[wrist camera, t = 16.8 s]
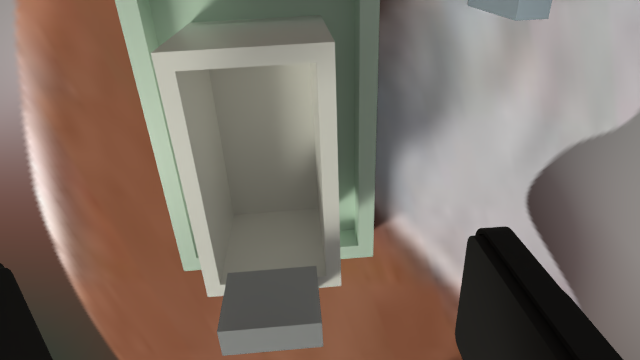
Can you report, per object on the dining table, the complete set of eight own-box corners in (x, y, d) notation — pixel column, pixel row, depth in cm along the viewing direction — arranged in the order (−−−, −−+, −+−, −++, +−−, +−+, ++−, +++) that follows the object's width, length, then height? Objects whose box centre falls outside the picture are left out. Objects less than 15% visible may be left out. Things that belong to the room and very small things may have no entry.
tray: (366, 234, 25) (372, 256, 23) (191, 247, 24) (183, 271, 22) (371, -48, 18) (381, -48, 16) (124, -37, 17) (105, -36, 15)
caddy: (328, 209, 23) (350, 344, 15) (226, 216, 23) (194, 358, 15) (320, 14, 18) (347, 65, 10) (190, 22, 18) (115, 80, 10)
